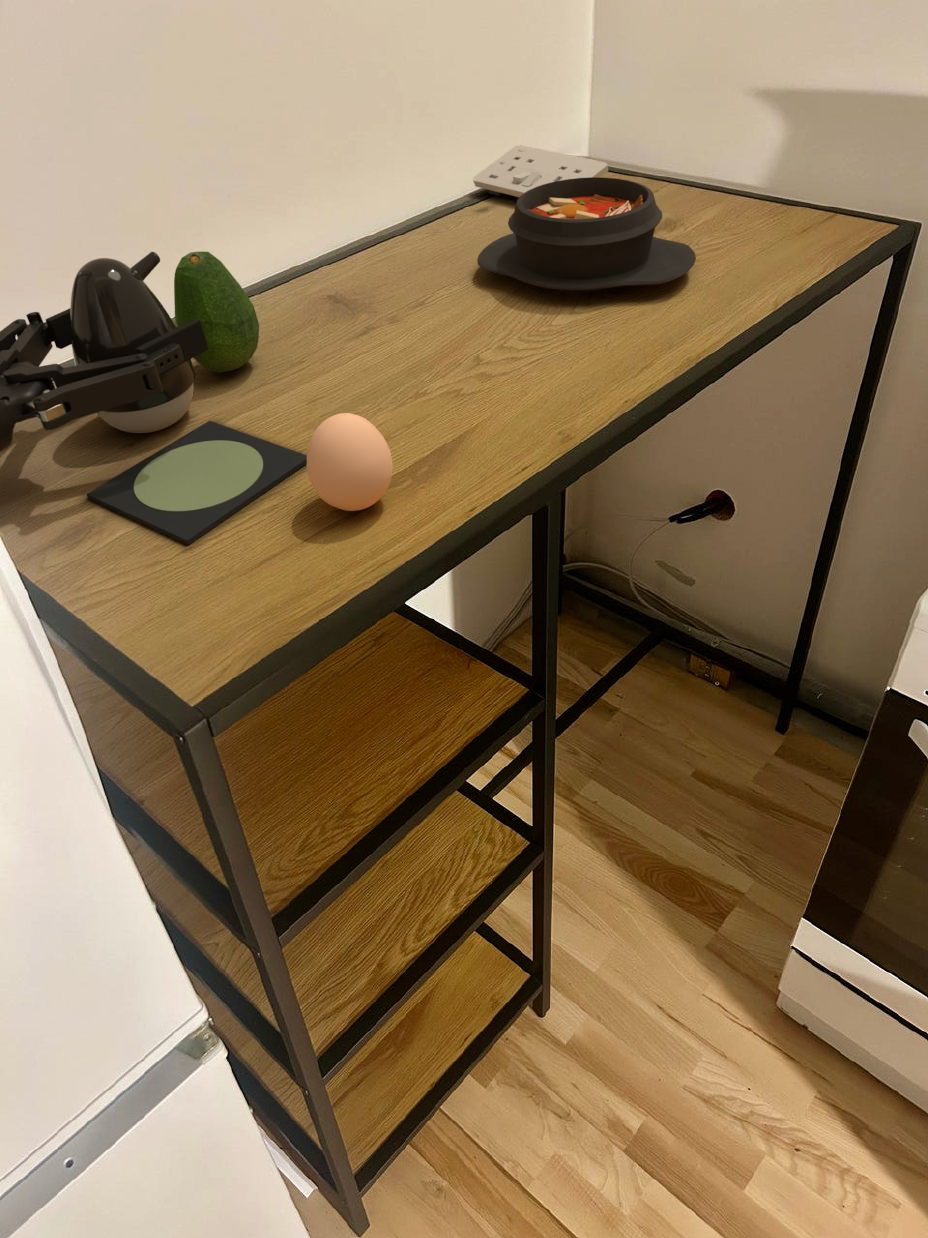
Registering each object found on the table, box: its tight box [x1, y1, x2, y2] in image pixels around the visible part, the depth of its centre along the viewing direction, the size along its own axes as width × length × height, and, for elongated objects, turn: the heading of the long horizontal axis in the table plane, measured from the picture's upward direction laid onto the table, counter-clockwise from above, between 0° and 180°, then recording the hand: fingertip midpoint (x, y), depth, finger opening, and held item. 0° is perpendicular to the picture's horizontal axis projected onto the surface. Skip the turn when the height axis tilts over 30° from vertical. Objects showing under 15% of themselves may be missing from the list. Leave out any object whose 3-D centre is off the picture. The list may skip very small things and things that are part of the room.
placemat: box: [86, 420, 307, 546], centre depth 79 cm, size 13×14×1 cm
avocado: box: [173, 251, 260, 373], centre depth 91 cm, size 8×8×12 cm
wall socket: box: [472, 144, 609, 199], centre depth 127 cm, size 18×15×4 cm
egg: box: [306, 412, 394, 512], centre depth 72 cm, size 7×7×8 cm
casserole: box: [476, 177, 697, 292], centre depth 104 cm, size 25×19×8 cm
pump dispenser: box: [69, 251, 196, 434], centre depth 83 cm, size 10×10×15 cm
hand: (155, 320), depth 84 cm, fingers open, 12 cm apart
